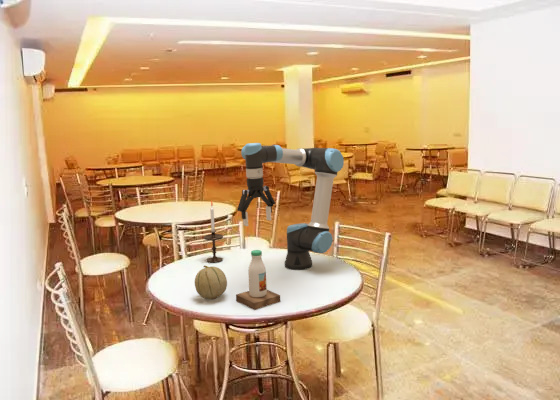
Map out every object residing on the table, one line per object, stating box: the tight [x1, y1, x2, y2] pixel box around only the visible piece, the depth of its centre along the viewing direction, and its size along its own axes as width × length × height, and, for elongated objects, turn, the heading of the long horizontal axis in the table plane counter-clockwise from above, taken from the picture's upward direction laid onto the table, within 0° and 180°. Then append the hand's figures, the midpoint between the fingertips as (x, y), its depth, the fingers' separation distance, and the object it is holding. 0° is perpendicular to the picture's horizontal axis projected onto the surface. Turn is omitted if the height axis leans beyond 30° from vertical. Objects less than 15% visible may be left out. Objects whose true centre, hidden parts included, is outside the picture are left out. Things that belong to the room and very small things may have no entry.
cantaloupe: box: [194, 265, 228, 300], centre depth 223 cm, size 15×15×15 cm
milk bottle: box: [248, 249, 268, 297], centre depth 216 cm, size 8×8×20 cm
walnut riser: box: [235, 289, 281, 311], centre depth 218 cm, size 14×14×3 cm
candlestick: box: [203, 200, 224, 264], centre depth 280 cm, size 11×11×35 cm
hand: (257, 222), depth 228 cm, fingers open, 13 cm apart
